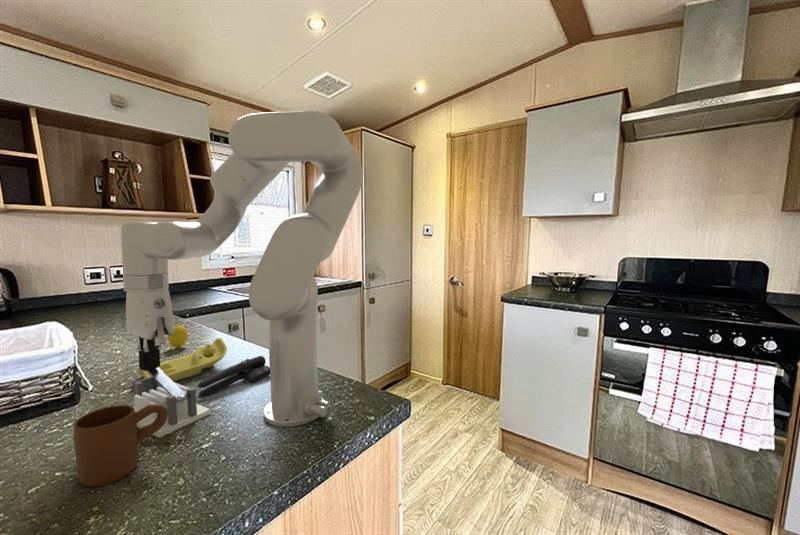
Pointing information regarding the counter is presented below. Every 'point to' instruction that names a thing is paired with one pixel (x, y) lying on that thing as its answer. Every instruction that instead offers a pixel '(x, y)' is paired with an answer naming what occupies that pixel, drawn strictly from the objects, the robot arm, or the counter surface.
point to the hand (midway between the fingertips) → (150, 367)
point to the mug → (112, 441)
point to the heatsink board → (166, 405)
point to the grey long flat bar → (168, 384)
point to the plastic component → (192, 361)
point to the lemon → (178, 336)
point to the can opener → (236, 375)
